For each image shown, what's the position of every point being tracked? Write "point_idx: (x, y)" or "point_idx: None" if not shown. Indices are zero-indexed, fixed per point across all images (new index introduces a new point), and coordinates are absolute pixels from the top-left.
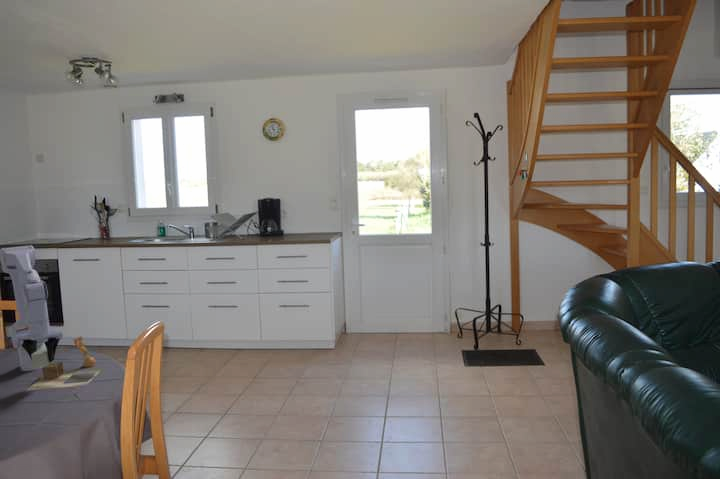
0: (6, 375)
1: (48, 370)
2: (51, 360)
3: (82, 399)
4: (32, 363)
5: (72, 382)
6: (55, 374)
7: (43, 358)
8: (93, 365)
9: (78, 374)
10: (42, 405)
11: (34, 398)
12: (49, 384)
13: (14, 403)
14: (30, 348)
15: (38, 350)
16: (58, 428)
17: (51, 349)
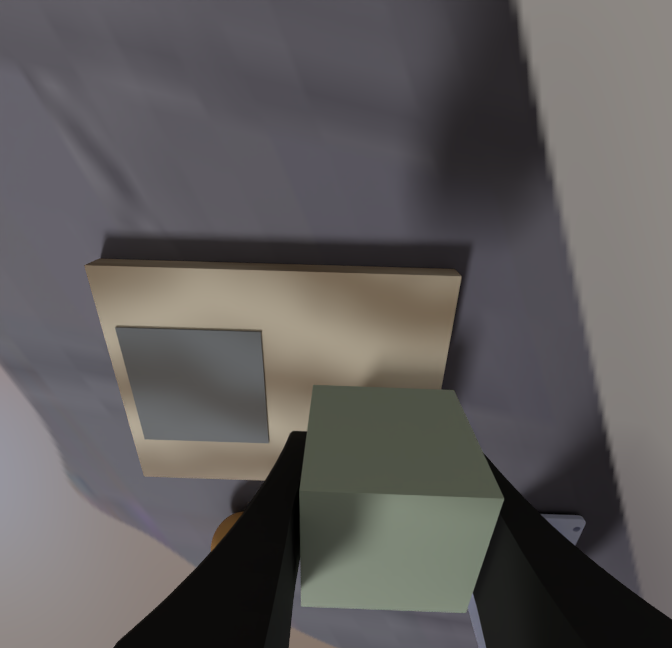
0: (626, 522)
1: None
2: (287, 442)
3: (5, 67)
4: (461, 411)
5: (206, 332)
6: None
7: (342, 440)
8: (220, 524)
9: (235, 436)
10: (257, 9)
11: (375, 177)
12: (343, 336)
13: (486, 112)
14: (550, 605)
15: (453, 595)
16: None
17: (217, 549)
